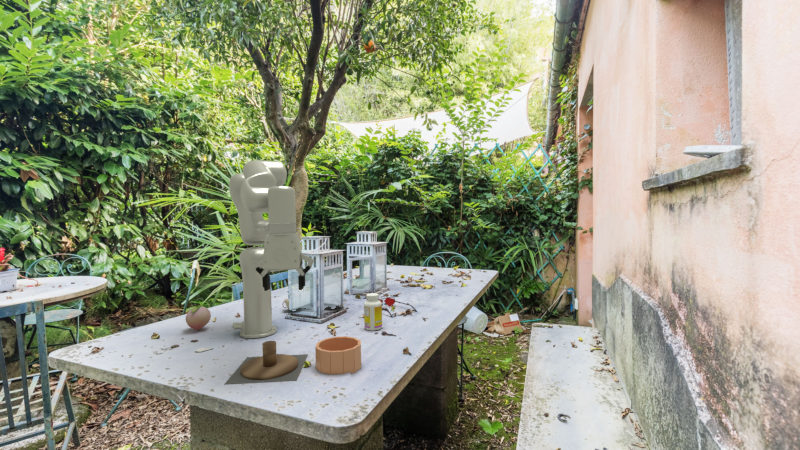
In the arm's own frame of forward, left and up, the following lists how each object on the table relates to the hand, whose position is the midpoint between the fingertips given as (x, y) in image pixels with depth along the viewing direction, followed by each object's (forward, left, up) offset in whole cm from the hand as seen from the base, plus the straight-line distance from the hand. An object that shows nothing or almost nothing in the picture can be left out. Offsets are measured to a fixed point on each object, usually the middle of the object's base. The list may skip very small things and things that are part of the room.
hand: (284, 289), depth 106 cm
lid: (-4, -3, -21) cm, 22 cm away
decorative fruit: (-41, +38, -22) cm, 60 cm away
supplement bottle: (+25, +31, -22) cm, 45 cm away
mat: (-4, -3, -22) cm, 22 cm away
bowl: (+15, -3, -22) cm, 27 cm away
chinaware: (-2, +65, -22) cm, 69 cm away
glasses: (+34, +55, -22) cm, 68 cm away
